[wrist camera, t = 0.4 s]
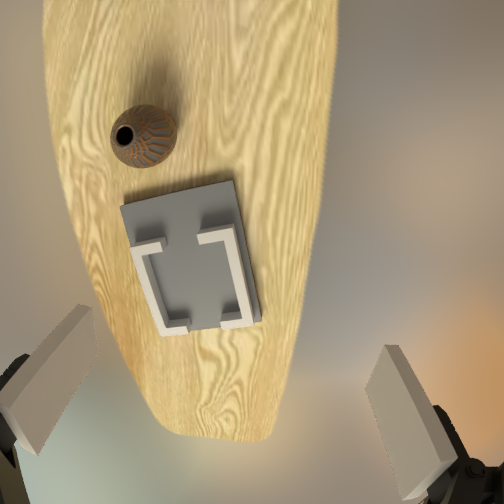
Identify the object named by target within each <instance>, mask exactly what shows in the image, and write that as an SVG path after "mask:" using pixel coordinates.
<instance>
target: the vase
mask: <svg viewBox="0 0 504 504" xmlns="http://www.w3.org/2000/svg"><path fill="white" fill-rule="evenodd" d="M176 139H177V130H176V126H175V123H174V121H173V119H172V118H171V116H170V115H169V114H168V113H167V112H166V111H164V110H163V109H161V108H159V107H156V106H152V105H139V106H135V107H132V108H130V109H128V110H126V111H125V112H124V113H122V114H121V115H120V116H119V117H118V119H117V120H116V121H115V123H114V125H113V127H112V130H111V137H110V141H111V146H112V149H113V152H114V153H115V155H116V156H117V158H118V159H119V160H120V161H122V162H123V163H125V164H126V165H128V166H131V167H134V168H149V167H152V166H155V165H157V164H159V163H161V162H163V161H164V160H165V159H166V158H167V157H168V156H169V155H170V154H171V152H172V151H173V149H174V147H175V144H176Z"/></svg>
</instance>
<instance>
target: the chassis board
mask: <svg viewBox="0 0 504 504" xmlns="http://www.w3.org/2000/svg"><path fill="white" fill-rule="evenodd" d="M120 210H121V213H122V217H123V221H124V224H125V228H126V231H127V235H128V238H129V242H130V245H131V247H130V251H131V254H132V258H133V261H134V264H135V267H136V270H137V273H138V276H139V279H140V282H141V285H142V288H143V291H144V294H145V297H146V300H147V302H148V305H149V308H150V311H151V313H152V316H153V319H154V321H155V324H156V327H157V329H158V332H159V334H160V337H162V336H173V335H183V334H189V332H190V331H193V330H202V329H210V328H218V327H221V328H222V330H226V329H233V328H241V327H248V326H254V322H261V321H262V316H261V311H260V306H259V301H258V297H257V292H256V287H255V282H254V277H253V273H252V268H251V263H250V258H249V253H248V249H247V244H246V239H245V234H244V229H243V224H242V219H241V215H240V210H239V205H238V200H237V195H236V190H235V185H234V181H233V179H232V180H227V181H222V182H217V183H213V184H208V185H203V186H198V187H194V188H189V189H185V190H181V191H176V192H172V193H168V194H164V195H159V196H155V197H151V198H147V199H143V200H139V201H135V202H132V203H128V204H124V205H122V206H120Z"/></svg>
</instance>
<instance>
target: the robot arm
mask: <svg viewBox="0 0 504 504" xmlns="http://www.w3.org/2000/svg"><path fill="white" fill-rule="evenodd" d="M98 356H99V349H98V343H97V337H96V331H95V325H94V318H93V311H92V307H89V306H85V305H80V304H78V305H77V306H76V307H75V308H74V309H73V310H72V311H71V312H70V313H69V314H68V315H67V316H66V317H65V318H64V319H63V320H62V322H60V323H59V325H58V326H57V327H56V328H55V329H54V330H53V331H52V332H51V333H50V334H49V335H48V336H47V338H46V339H45V340H44V341H43V342H42V343H41V344H40V345H39V346H38V348H37V349H36V350H35V351H34V352H33V353H32V354H31V355H28V354H24V355H22V356H20V357H18V358H16V359H15V360H14V361H13V362H12V364H11V365H10V366H9V367H8V369H6V370H5V371H4V373H3V375H1V376H0V504H30V501H29V498H28V495H27V492H26V488H25V485H24V481H23V477H22V474H21V470H20V466H19V461H18V457H17V452H16V449H15V446H14V443H15V441H16V440H18V442H19V443H20V445H21V446H22V448H24V449H25V450H27V451H29V452H31V453H33V454H35V455H37V456H38V455H39V453H40V451H41V449H42V448H43V446H44V444H45V442H46V440H47V439H48V437H49V435H50V434H51V432H52V430H53V428H54V427H55V425H56V423H57V422H58V420H59V418H60V417H61V415H62V413H63V412H64V410H65V408H66V407H67V405H68V403H69V402H70V400H71V399H72V397H73V395H74V394H75V392H76V390H77V389H78V387H79V386H80V384H81V383H82V381H83V379H84V378H85V376H86V375H87V373H88V372H89V370H90V368H91V367H92V365H93V364H94V362H95V361H96V359H97V358H98ZM365 390H366V392H367V395H368V398H369V401H370V404H371V407H372V409H373V412H374V415H375V418H376V421H377V424H378V427H379V430H380V433H381V436H382V439H383V442H384V445H385V448H386V451H387V454H388V457H389V461H390V464H391V467H392V470H393V473H394V476H395V480H396V483H397V486H398V490H399V493H400V497H401V500H402V501H403V500H407V499H412V498H416V497H419V496H420V495H421V494H422V493H423V492H424V491H425V490H426V489H427V492H428V496H427V497H426V498H425V499H424V500H423V501H421V502H420V503H419V504H504V462H503V463H502V464H501V465H500V466H499V467H486V466H485V465H484V464H483V462H482V461H480V460H478V459H475V458H470V457H469V455H468V454H467V451H466V449H465V447H464V445H463V443H462V442H461V439H460V437H459V435H458V434H457V432H456V431H455V428H454V426H453V424H451V420H450V418H449V417H448V415H447V413H446V412H445V411H444V410H443V409H442V408H441V407H440V406H439V405H434V406H432V404H431V403H430V401H429V399H428V397H427V395H426V393H425V392H424V389H423V388H422V386H421V384H420V382H419V380H418V379H417V377H416V375H415V373H414V371H413V370H412V368H411V366H410V364H409V363H408V361H407V359H406V357H405V356H404V354H403V352H402V350H401V349H400V347H399V345H384V347H383V349H382V352H381V354H380V356H379V359H378V361H377V364H376V366H375V368H374V370H373V372H372V374H371V377H370V379H369V381H368V383H367V385H366V388H365Z"/></svg>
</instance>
